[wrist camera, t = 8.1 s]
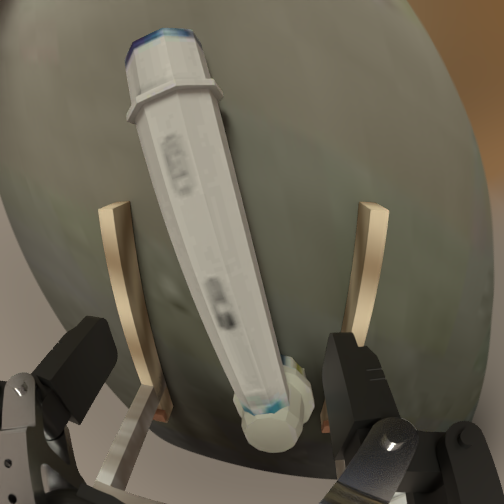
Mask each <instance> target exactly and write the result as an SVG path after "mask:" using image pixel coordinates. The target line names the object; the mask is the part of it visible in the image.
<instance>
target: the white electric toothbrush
mask: <svg viewBox="0 0 504 504" xmlns="http://www.w3.org/2000/svg"><path fill="white" fill-rule="evenodd" d="M125 67H126V74H127V80H128V86H129V92H130V98H131V104H132V105H131V107H130V109H129V111H128V112H127V114H126V118H127V122H130V123H133V124H136V127H137V131H138V135H139V139H140V142H141V146H142V150H143V153H144V157H145V160H146V164H147V167H148V170H149V174H150V177H151V181H152V184H153V187H154V190H155V193H156V197H157V200H158V203H159V206H160V209H161V212H162V215H163V218H164V221H165V224H166V227H167V230H168V233H169V236H170V238H171V241H172V244H173V247H174V250H175V252H176V255H177V258H178V261H179V263H180V266H181V269H182V271H183V274H184V277H185V279H186V282H187V284H188V287H189V289H190V292H191V295H192V297H193V300H194V302H195V304H196V307H197V309H198V312H199V314H200V317H201V319H202V321H203V324H204V326H205V328H206V331H207V333H208V335H209V338H210V340H211V342H212V345H213V347H214V349H215V351H216V354H217V356H218V358H219V360H220V362H221V365H222V367H223V369H224V371H225V373H226V375H227V377H228V379H229V382H230V384H231V386H232V388H233V390H234V392H235V394H234V398H233V402H234V404H235V406H236V408H237V411H238V413H239V415H240V417H241V418H242V425H241V426H242V429H243V432H244V434H245V436H246V438H247V440H248V442H249V444H251V445H252V446H254V447H255V448H257V449H258V450H261V451H265V452H269V453H277V452H284V451H286V450H288V449H290V448H292V447H293V446H294V445H295V443H296V442H297V440H298V438H299V436H300V434H301V432H302V429H303V424H304V423H306V422H307V421H308V419H309V417H310V415H311V413H312V411H313V409H314V407H315V405H314V397H313V393H312V388H311V384H310V382H309V381H308V380H307V378H306V374H305V369H304V368H303V369H302V368H301V367H300V366H299V365H298V364H297V363H296V362H295V361H294V360H293V358H292V357H289V356H285V355H281V354H280V352H279V348H278V344H277V340H276V336H275V332H274V327H273V323H272V319H271V315H270V311H269V307H268V303H267V299H266V295H265V291H264V287H263V283H262V279H261V274H260V270H259V266H258V262H257V258H256V254H255V250H254V246H253V242H252V238H251V234H250V230H249V226H248V222H247V218H246V214H245V210H244V206H243V202H242V198H241V194H240V190H239V186H238V182H237V177H236V173H235V169H234V165H233V161H232V157H231V153H230V149H229V145H228V141H227V137H226V133H225V129H224V125H223V121H222V117H221V114H220V110H219V106H218V102H219V101H220V100H221V99H223V98H224V96H223V92H222V90H221V89H220V88H219V86H218V85H217V83H216V82H215V80H214V79H211V77H210V73H209V70H208V66H207V63H206V59H205V56H204V52H203V49H202V45H201V42H200V41H199V39H198V38H197V36H196V35H195V33H194V32H193V30H192V29H177V28H161V29H159V30H157V31H155V32H152V33H150V34H148V35H146V36H144V37H142V38H140V39H138V40H136V41H134V42H133V43H132V45H131V47H130V49H129V51H128V53H127V56H126V58H125Z"/></svg>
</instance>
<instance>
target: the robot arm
mask: <svg viewBox="0 0 504 504" xmlns="http://www.w3.org/2000/svg"><path fill="white" fill-rule="evenodd" d="M116 362H117V349H116V346H115V343H114V340H113V337H112V334H111V331H110V328H109V325H108V322H107V321H106V319H104V318H99V317H93V316H86V317H85V318H84V319H83V320H82V321H81V322H80V323H79V324H78V325H77V326H76V327H75V328H73V329H72V330H70V331H68V332H67V333H66V334H65V335H64V336H63V337H62V338H61V339H60V341H59V343H57V344H56V345H55V346H54V347H53V350H51V351H50V352H49V353H48V354H47V355H46V357H45V358H44V359H43V360H42V361H41V363H40V364H39V365H38V366H37V367H36V369H35V370H34V371H33V372H32V373H31V374H29V373H18V374H16V375H14V376H12V377H11V378H10V379H9V380H8V381H6V382H5V381H0V504H125V503H123V502H122V501H120V500H119V499H117V498H115V497H114V496H112V495H110V494H107V493H105V492H102V491H100V490H97V489H95V488H93V487H90V486H88V485H86V483H85V481H84V479H83V478H82V477H81V475H80V473H79V471H78V469H77V466H76V461H75V457H74V453H73V448H72V443H71V438H70V433H69V429H68V427H67V425H66V424H67V423H68V421H71V422H73V423H76V424H78V425H80V424H81V423H82V421H83V419H84V417H85V415H86V414H87V412H88V410H89V408H90V407H91V405H92V403H93V401H94V400H95V398H96V396H97V395H98V393H99V391H100V389H101V388H102V386H103V384H104V383H105V381H106V379H107V378H108V376H109V374H110V373H111V371H112V369H113V368H114V366H115V364H116ZM381 368H382V367H381V365H380V362H379V360H378V358H377V356H376V355H375V354H374V353H373V352H372V351H371V350H370V349H369V348H368V347H367V346H363V347H358V344H357V342H356V339H355V336H354V334H353V333H352V332H341V333H330V334H329V338H328V343H327V348H326V353H325V358H324V363H323V368H322V382H323V388H324V394H325V401H326V407H327V414H328V420H329V427H330V434H331V442H332V449H333V457H334V461H336V460H344V461H345V468H346V469H345V470H344V472H343V473H342V475H341V476H340V477H339V479H338V480H337V482H336V483H335V484H334V486H333V487H332V488H331V489H330V491H329V492H328V493H327V494H326V496H325V497H324V498H323V499H322V500H321V502H320V503H319V504H389V503H390V501H391V499H392V498H393V496H394V494H395V492H401V493H405V494H406V500H407V504H504V494H503V490H502V487H501V483H500V480H499V477H498V474H497V470H496V467H495V464H494V461H493V459H492V456H491V453H490V450H489V448H488V445H487V443H486V440H485V437H484V435H483V433H482V431H481V429H480V428H479V427H478V426H477V425H475V424H474V423H472V422H469V421H460V422H457V423H455V424H453V425H452V426H451V427H450V428H449V429H448V430H447V431H446V432H423V431H418V430H416V428H415V427H414V426H413V425H412V424H411V423H410V422H408V421H407V420H405V419H402V418H401V417H400V415H399V412H398V409H397V407H396V404H395V401H394V398H393V396H392V393H391V390H390V388H389V385H388V383H387V380H385V375H384V372H383V370H381Z"/></svg>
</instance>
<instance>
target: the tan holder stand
mask: <svg viewBox="0 0 504 504" xmlns="http://www.w3.org/2000/svg"><path fill="white" fill-rule="evenodd" d="M98 212H99V219H100V226H101V233H102V239H103V245H104V250H105V256H106V261H107V266H108V271H109V276H110V280H111V285H112V289H113V293H114V297H115V301H116V305H117V309H118V313H119V316H120V320H121V323H122V327H123V330H124V334H125V337H126V340H127V343H128V347H129V350H130V353H131V356H132V359H133V362H134V364H135V367H136V370H137V373H138V376H139V378H140V381H141V386H140V388H139V390H138V392H137V394H136V396H135V398H134V400H133V402H132V404H131V406H130V408H129V411H128V413H127V415H126V417H125V419H124V421H123V423H122V425H121V427H120V429H119V431H118V433H117V436H116V437H115V440H114V442H113V444H112V446H111V448H110V450H109V452H108V455H107V457H106V459H105V461H104V463H103V466H102V468H101V470H100V472H99V474H98V477H97V479H96V481H95V484H94V486H93V488H95V489H97V490H100V491H102V492H105V493H107V494H110V495H112V496H114V497H115V498H117V499H119V500H120V501H122V502H123V503H125V504H165V503H162V502H158V501H154V500H151V499H147V498H144V497H141V496H137V495H134V494H131V493H128V492H125V488H126V486H127V483H128V480H129V478H130V475H131V473H132V470H133V467H134V465H135V462H136V460H137V457H138V455H139V452H140V449H141V447H142V444H143V442H144V439H145V437H146V434H147V432H148V429H149V427H150V424H151V422H152V420H157V421H161V422H166V423H168V420H169V417H170V414H171V411H172V409H173V404H172V401H171V398H170V395H169V392H168V388H167V385H166V382H165V379H164V375H163V372H162V368H161V365H160V361H159V358H158V354H157V350H156V346H155V343H154V339H153V335H152V330H151V326H150V322H149V318H148V313H147V309H146V304H145V299H144V294H143V289H142V284H141V278H140V273H139V267H138V261H137V254H136V248H135V241H134V234H133V226H132V217H131V208H130V201H126V202H115V203H113V204H110V205H108V206H106V207H103V208H101V209H98ZM388 217H389V210H387V209H385V208H384V207H382V206H380V205H378V204H377V203H370V202H359V208H358V219H357V230H356V239H355V248H354V256H353V263H352V271H351V277H350V284H349V290H348V296H347V302H346V308H345V313H344V319H343V324H342V329H341V332H352V333H353V334H354V336H355V339H356V342H357V344H358V347H363V346H364V342H365V338H366V334H367V331H368V327H369V323H370V319H371V314H372V310H373V306H374V301H375V297H376V292H377V287H378V282H379V277H380V271H381V266H382V260H383V254H384V247H385V240H386V233H387V225H388ZM320 418H321V429H322V433H330V427H329V420H328V414H327V407H326V401H325V400H324V404H323V407H322V411H321V414H320ZM335 463H336V472H337V480H338V479H339V477H340V476H341V475H342V473H343V472H344V470H345V469H346V468H345V461H344V460H336V461H335Z"/></svg>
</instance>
